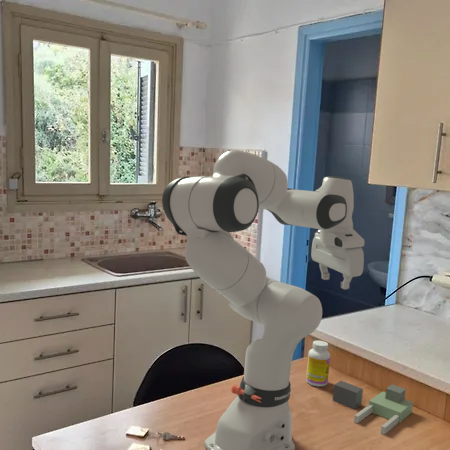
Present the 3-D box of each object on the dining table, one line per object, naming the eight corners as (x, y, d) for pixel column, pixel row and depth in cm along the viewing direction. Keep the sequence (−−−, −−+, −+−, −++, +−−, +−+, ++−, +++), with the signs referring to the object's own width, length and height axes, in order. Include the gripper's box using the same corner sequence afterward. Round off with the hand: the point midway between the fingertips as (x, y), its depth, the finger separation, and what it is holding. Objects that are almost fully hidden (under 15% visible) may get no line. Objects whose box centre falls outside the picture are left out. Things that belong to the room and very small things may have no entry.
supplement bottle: (327, 388, 157) (331, 348, 155) (305, 385, 158) (309, 345, 156) (327, 380, 163) (331, 340, 162) (306, 376, 165) (310, 338, 163)
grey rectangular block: (361, 405, 148) (363, 388, 147) (354, 409, 145) (356, 392, 144) (339, 396, 152) (341, 380, 152) (332, 400, 149) (334, 384, 149)
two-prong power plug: (385, 435, 132) (387, 413, 131) (353, 421, 138) (355, 400, 137) (411, 412, 146) (414, 392, 145) (381, 400, 151) (383, 381, 150)
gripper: (306, 229, 150) (305, 275, 152) (348, 244, 131) (346, 296, 134) (324, 227, 152) (324, 272, 155) (368, 241, 133) (366, 292, 136)
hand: (334, 283), depth 144 cm, fingers open, 8 cm apart
